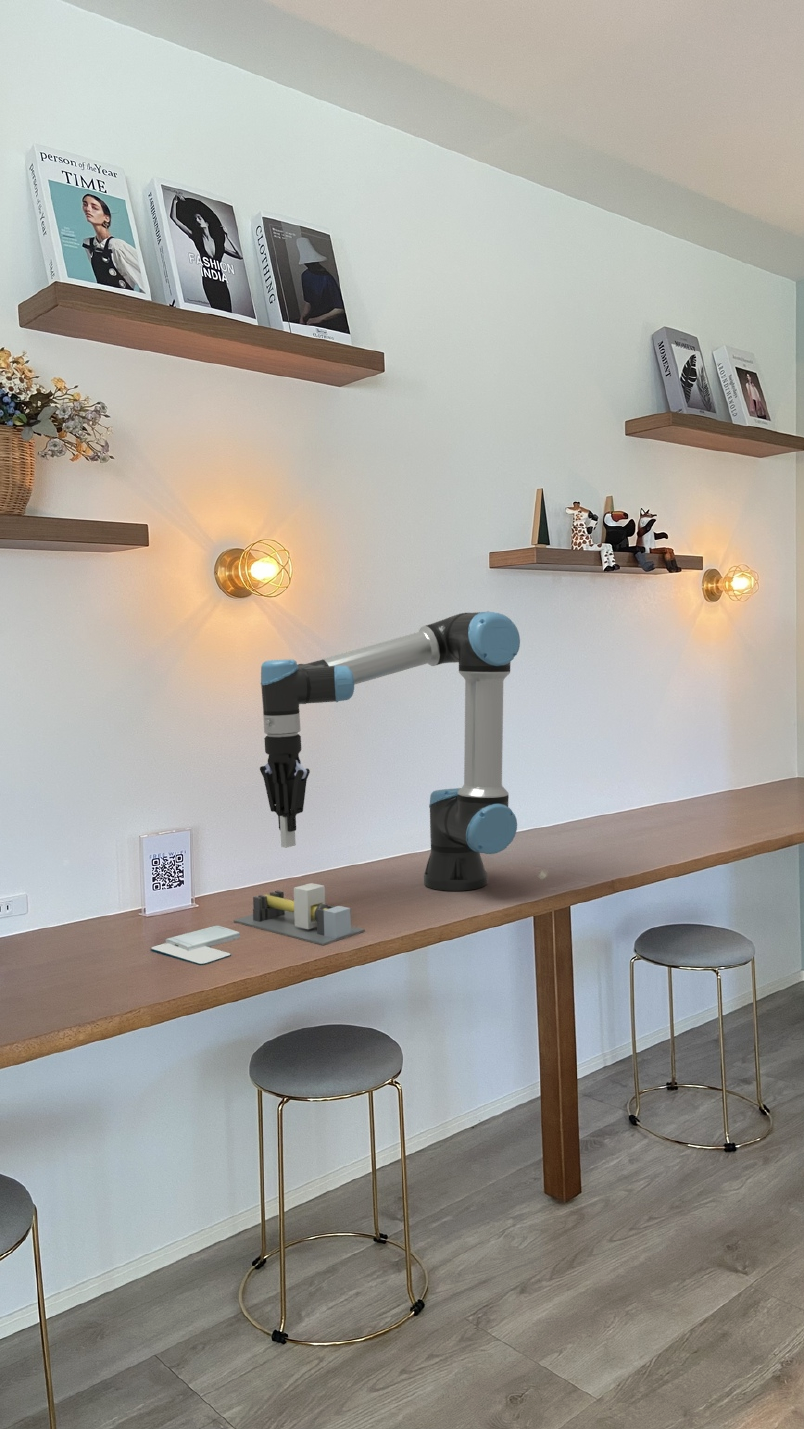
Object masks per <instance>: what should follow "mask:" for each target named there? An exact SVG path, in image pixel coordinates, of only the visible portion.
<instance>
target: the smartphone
mask: <svg viewBox="0 0 804 1429" xmlns="http://www.w3.org/2000/svg"><path fill="white" fill-rule="evenodd" d="M150 952H153V953H157V954H160V955H162V956H166V957H169V958H173V959H177V960H180V961H184V962H187V963H190V964H193V965H197V966H205V965H209V964H212V963H214V962H217V961H218V962H219V961H220V960H223V959H227V958H230V957H231V956H232V953H231V952H228V951H225V950H220V949H217V948H213V947H212V946H210V947H208V946H204V947H200V948H197V949H193V950H189V951H187V950H185V949H182V948H180V947H177V946H174V945H172V944H169V943H165V942H164V943H160V944H157V945H153V946H151V947H150Z"/></svg>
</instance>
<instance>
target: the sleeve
mask: <svg viewBox="0 0 804 1429" xmlns="http://www.w3.org/2000/svg"><path fill="white" fill-rule="evenodd" d="M293 901H294V917H295V926H297V927H301V928H305V929H311V928H314V927H317V921H316V920H315V918H313V917H311V906H312V905H314V906H319V905H320V904H325V905H326V887H325V885H322V884H318V883H312V882H310V883H306V884H303V885H298V886H296V887H293Z"/></svg>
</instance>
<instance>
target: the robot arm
mask: <svg viewBox="0 0 804 1429" xmlns="http://www.w3.org/2000/svg"><path fill="white" fill-rule="evenodd" d="M520 646H521V638H520V633H519V630H518V628H517V626H516V624H515V623H514V622H513V621H512V619H510V618H509V616H506V615H504V614H502V613H500V612H494V611H481V612H480V611H479V612H462V613H458V614H454V615H452V616H449V617H446V618H445V619H442V620H438V621H436V622H433V623H430V624H427V625H423V626H421V627H420V628H419V629H418V632H414V633H410V634H408V635H403V636H400V637H396V638H393V639H390V640H386V641H382V642H378V643H375V644H372V645H368V646H364V647H361V648H358V649H355V650H350V651H348V652H347V651H346V652H344V653H340V654H335V655H333V656H329V657H326V658H322V659H320V660H316V661H315V660H314V661H311V662H308V663H298V662H297V661H296V660H295V659H289V658H288V659H274V660H273V659H271V660H266V661H264V662H262V664H261V666H260V686H261V687H260V688H261V698H262V709H263V711H262V713H263V714H262V715H263V716H262V717H263V718H262V719H263V733H264V734H266V736H265V737H264V752H265V754H266V755H268V758H267V763H266V764H265V765H261V766H260V767H259V772H260V773H261V776H262V777H263V782H264V785H265V791H266V795H267V800H268V805H269V808H270V809H269V810H270V812H274V813H276V815H277V817H278V829H279V831H280V843H281V844H280V846H281V848H290V847H293V846H296V845H297V842H296V831H297V820H296V819H297V818H296V816H297V815H299V814H301V813H303V811H304V805H305V796H306V789H307V782H308V780H307V779H308V777H309V775H310V773H311V771H310V770H311V769H309V768H304V767H303V765H301V764H302V763H301V759H300V756H299V755H300V753H301V752H302V736H301V734H299V733H300V732H301V718H300V712H301V711H300V705H306V704H317V703H318V704H320V703H321V704H323V703H334V702H336V703H339V702H342V701H343V702H344V701H349V700H350V699H351V698H352V697H353V695H354V692H355V691H354V690H355V685H359V684H361V683H365V682H369V681H371V680H376V679H379V678H382V677H385V676H389V675H393V674H396V673H400V672H402V671H407V670H409V669H414V668H416V667H420V666H425V665H427V664H428V665H429V666H431V667H436V666H439V665H442V664H450V663H454V664H455V663H458V673H459V674H460V676H461V677H463V678H464V682H465V683H464V686H465V687H464V757H463V758H464V762H463V763H464V768H463V769H464V772H463V774H464V776H463V777H464V778H463V780H464V781H463V782H464V783H463V785H462V786H461V787H457V788H445V789H437V790H433V791H432V792H430V796H429V804H428V805H429V806H428V807H429V826H430V828H429V831H430V832H429V833H430V835H429V836H430V854H429V857H428V860H427V863H426V867H425V871H424V873H423V885H424V886H425V887H427V888H430V889H433V890H438V891H447V892H449V891H453V892H454V891H455V892H456V891H457V892H458V891H461V892H462V891H472V890H477V889H480V888H483V887H485V886H486V885H487V884H488V875H487V874H488V873H487V871H486V870H485V866H484V862H483V858H482V856H481V854H484V855H495V854H499V853H500V852H502V851H504V850H506V849H507V848H508V846H509V845H510V844H511V843H512V842H513V841H514V838H515V837H516V835H517V830H518V821H517V817H516V814H515V812H513V810H512V809H511V807H509V791H507V789H506V788H505V787H504V786H503V741H504V740H503V739H504V738H503V737H504V736H503V732H504V731H503V729H504V726H503V725H504V681H505V679H506V678H507V677H508V676H509V675H510V674H511V662H512V661H513V660H514V659H515V657H516V656H517V655H518V653H519V650H520Z"/></svg>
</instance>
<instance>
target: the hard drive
mask: <svg viewBox="0 0 804 1429" xmlns="http://www.w3.org/2000/svg"><path fill="white" fill-rule="evenodd" d="M238 939H241V934H240V932H239V931H236V930H234V929H231V928H228V927H223V926H221V925H213V926H210V927H205V928H202V929H198V930H194V931H189V932H186V933H183V934H179V935H176V936H172V937H169V938H165V939H164V943H169V944H172V945H174V946H177V947H180V948H182V949H185V950H187V951H189V950H193V949H197V948H200V947H204V946H208V947H214V946H216V945H220V944H224V943H228V942H231V941H235V940H238Z"/></svg>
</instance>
